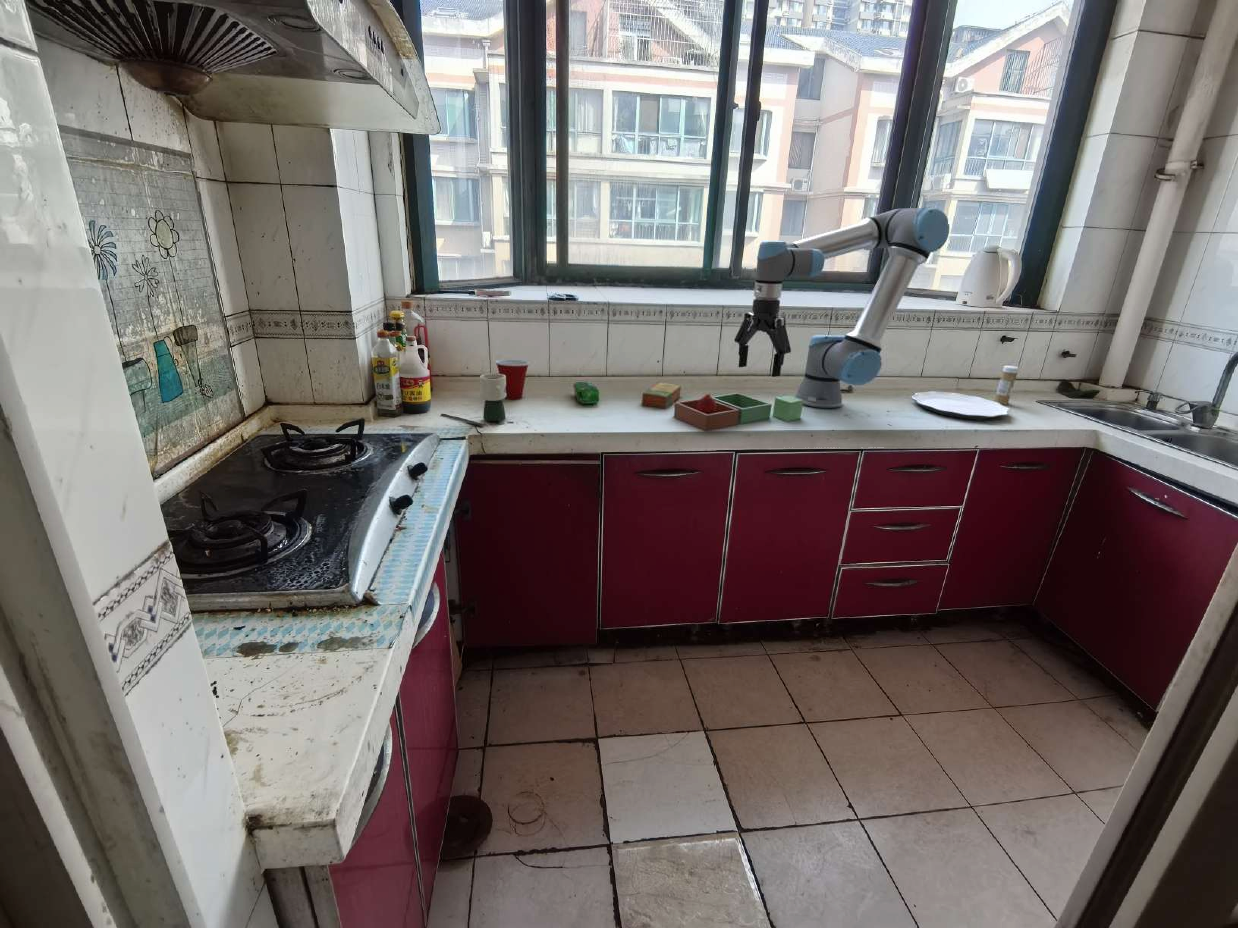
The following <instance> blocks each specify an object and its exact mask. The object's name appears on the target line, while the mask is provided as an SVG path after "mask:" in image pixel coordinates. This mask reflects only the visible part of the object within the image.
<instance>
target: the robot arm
mask: <svg viewBox="0 0 1238 928" xmlns="http://www.w3.org/2000/svg"><path fill="white" fill-rule="evenodd" d="M949 235H950V224H949V218H948V216H947V214H946V213H945V211H942V210H941V209H939V208H934V207H933V208H932V207H914V208H913V207H911V208H908V207H907V208H895V209H892V210H889V211H885V212H882V213H879V214H876V215H872V216H870V217H867V218H863V219H862V220H861V221H860V222H859V223H858V224H857V223H856V224H854V225H850V226H846V227H843V228H840V229H837V230H833V231H830V232H825V233H822V234H818V235H814V236H811V237H808V238H803V239H801V240H797V241H793V242H791V243H787V242H786V241H782V240H762V241H760V243H759V248H758V251H757V256H756V260H757V261H756V269H755V270H756V272H755V282H754V292H753V297H755V298H754V299H753V300H752V307H751V308H752V309H751V311H752V312H745V314H744V317H743V321H742V323H741V325H740V326H739V329H738V331H737V333H736V335H735V337H734V342H735V343H737V344H738V356H739V358H738V366H737V367H738V368H746V367H747V365H748V358H749V357H748V355H749V347H750V346H749V342H750V340H751V339H752V338H753V337H754V336H755V334H756V333H757V332H762V333H766V335H768V337H769V339H770V341H771V344H772V345H773V349H774V350H775V353H774V354H773V362H772V370H771V377H772V378H775V377H780V376H781V372H782V366H783V365H784V361H785V355H786V354H790V353H792V349H791V344H790V339H789V335H788V332H787V326H786V322H787V320H786V318H785V317H783V318H778V316H777V315H778V314H779V312H780V305H781V300H780V298H781V297H782V288H783V282H784V281H783V280H784V278H785V277H787V278H788V277H792V278H793V277H802V278H804V277H806V278H810V277H817V276H819V275H820V274H822V272H823V270H824V267H825V260H829V259H832V258H836V257H839V256H843V255H846V254H850V253H853V252H857V251H859V250H863V249H864V250H865V251H872V250H877V249H887V251H888V254H889V257H888V259H887V261H886V263H885V265H884V266H883V269H882V271H881V274H880V275H879V277H878V279H877V281H876V284H875V286H874V288H873V289H872V292H871V294H870V295H869V298H868V300H867V302H866V305H865V306H864V308H863V310H862V312H861V314H860V316H859V318H858V320H857V323H856V324H855V326H854V329H853V330H852V331H851V332H848V333H846V334H845V335H840V334H839V335H838V334H837V335H836V334H816V335H812V337H811V338H810V342H809V345H808V352H807V359H806V364H805V371H804V375H803V376H804V377H803V379H802V381H801V383H800V386H799V387H798V390H797V392H796V394H795V397H794V398H798V399H801V400H803V404H802V406H807V407H811V408H817V409H837V408H840V407H841V406H842V402H843V396H842V393H850V392H851V391H853V386H859V387H860V386H864V385H866V384H868V383H871V382H872V381H873V380H874V379H875V378H876V377H877V376H878V374H879V373H880V372H881V369H882V364H883V363H882V361H883V360H882V357H881V355H880V354H881V351H882V350H883V347H882V343H881V341H882V338H883V336H884V334H885V332H886V331H887V328H888V326H889V324H890V322H891V320H892V318H893V316H894V315H895V313H896V311H897V308H898V307H899V304H900V303H901V301H902V299H903V296H904V294H905V293H906V291H907V289H908V287H909V285H910V283H911V281H912V279H913V277H914V275H915V273H916V271H917V269H918V267H919V266H920V265H922V264H924V263H927V261H928V259H929V257H930V255H931V253H934V252H936V251H938V250H940V249H941V248H942V247H943V246H945V244H946V242H947V240H948V238H949ZM841 382H843V383H845V384H847V385H848V389H846V388H841ZM852 385H853V386H852Z"/></svg>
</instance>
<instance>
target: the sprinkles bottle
mask: <svg viewBox="0 0 1238 928" xmlns="http://www.w3.org/2000/svg"><path fill="white" fill-rule="evenodd" d="M1019 370H1020V368H1019V367H1018V366H1015V365H1004V366H1003V369H1002V374H1001V377H1000V379H999V382H998V383H999V385H998V387H997V389H996V390H997V391H996V394H995V398H994V400H993V401H994V402H997V403H999V404H1001V405H1002V406H1006V405H1009V403H1010V402H1009V401H1010V398H1011V395H1012V392H1013V388H1014V386H1015V385H1014V384H1015V381H1016V377H1017V375H1018V373H1019Z"/></svg>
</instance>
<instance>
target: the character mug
mask: <svg viewBox="0 0 1238 928" xmlns="http://www.w3.org/2000/svg"><path fill="white" fill-rule="evenodd" d="M479 385H480V397H481V399H482V400H484V405H483V420H484V421H488V422H496V423H497V422H498V421H504V420H506V418H507V417H506V409H505V405H504V402H503V400H504V399H506V398H505V397H506V376H505V375H503V374H499V373H484V374H481V375H480V376H479Z"/></svg>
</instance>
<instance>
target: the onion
mask: <svg viewBox="0 0 1238 928" xmlns="http://www.w3.org/2000/svg"><path fill="white" fill-rule="evenodd" d="M712 397H713V396H711V393H710V392H707V393H706V394H705V396H703V397H701V398H699V399H700V400H699V402H698V404H697V411H700V412H702V413H705V414H707V415H708V414H714V413H715V411H716V402H715V400H714V399H713V398H712Z"/></svg>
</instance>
